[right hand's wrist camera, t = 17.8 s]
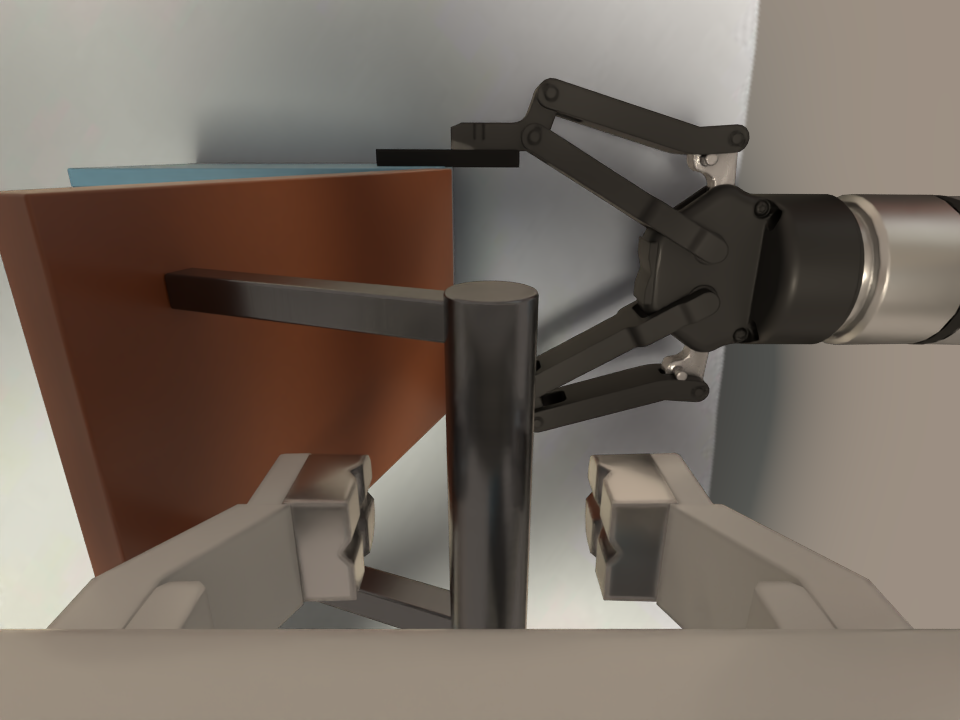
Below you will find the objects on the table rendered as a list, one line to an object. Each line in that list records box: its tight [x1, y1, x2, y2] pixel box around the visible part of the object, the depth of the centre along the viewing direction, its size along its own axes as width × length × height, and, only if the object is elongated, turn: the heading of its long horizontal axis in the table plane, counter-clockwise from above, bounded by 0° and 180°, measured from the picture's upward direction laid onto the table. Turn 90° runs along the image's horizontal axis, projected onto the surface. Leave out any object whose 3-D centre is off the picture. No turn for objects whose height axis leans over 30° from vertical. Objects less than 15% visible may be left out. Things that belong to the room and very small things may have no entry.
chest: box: [68, 163, 455, 285], centre depth 29 cm, size 15×10×11 cm
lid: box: [0, 168, 539, 629], centre depth 16 cm, size 15×10×8 cm
